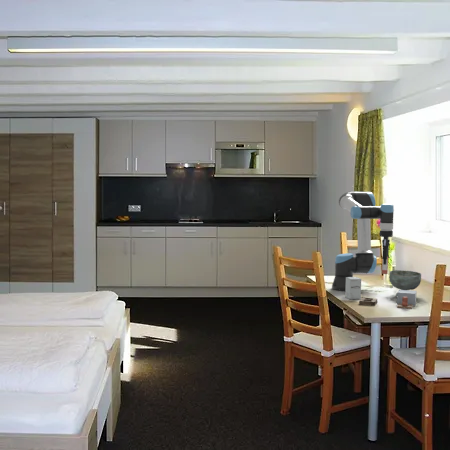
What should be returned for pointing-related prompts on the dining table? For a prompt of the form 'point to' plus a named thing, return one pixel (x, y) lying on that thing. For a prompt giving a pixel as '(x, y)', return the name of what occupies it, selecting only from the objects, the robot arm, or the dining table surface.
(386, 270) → the peg
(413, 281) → the bowl
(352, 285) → the supplement box
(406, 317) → the dining table surface
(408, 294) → the cover
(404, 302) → the board
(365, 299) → the board
